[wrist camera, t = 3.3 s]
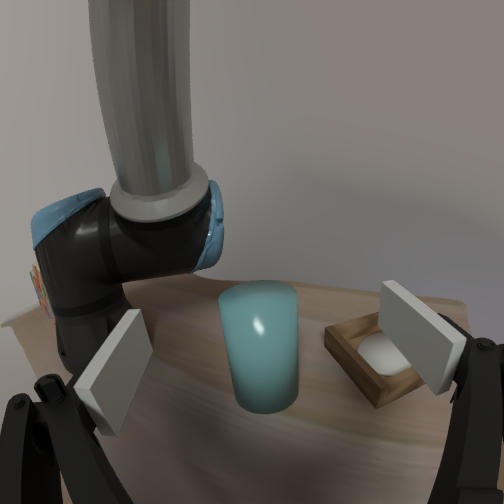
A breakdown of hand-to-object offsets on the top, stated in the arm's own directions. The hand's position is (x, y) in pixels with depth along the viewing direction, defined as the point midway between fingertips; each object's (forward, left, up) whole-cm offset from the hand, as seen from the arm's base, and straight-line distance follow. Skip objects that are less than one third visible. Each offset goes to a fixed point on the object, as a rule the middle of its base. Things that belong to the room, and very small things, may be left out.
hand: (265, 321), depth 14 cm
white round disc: (+18, +9, -15) cm, 25 cm away
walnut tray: (+18, +9, -15) cm, 25 cm away
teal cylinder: (+2, +10, -15) cm, 18 cm away
